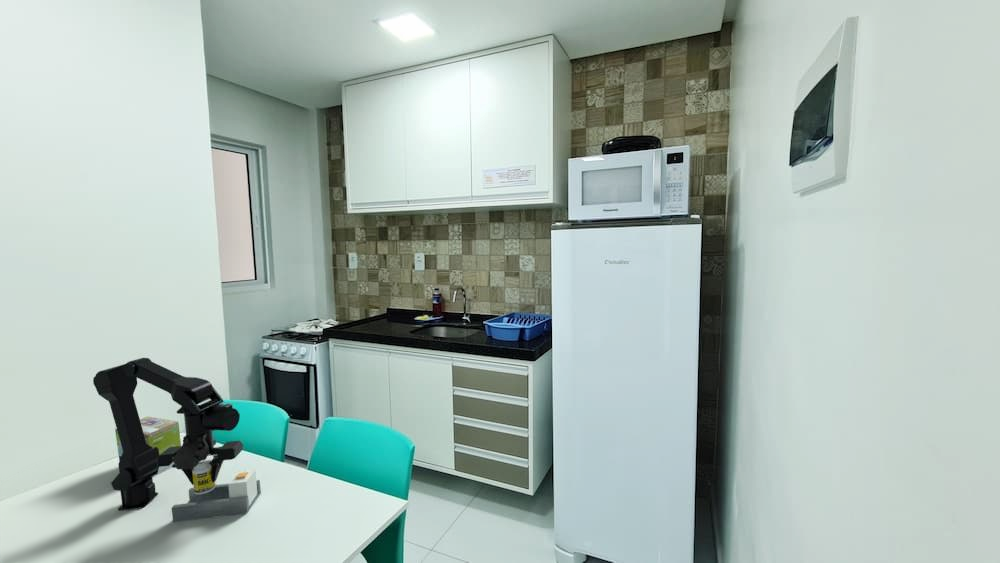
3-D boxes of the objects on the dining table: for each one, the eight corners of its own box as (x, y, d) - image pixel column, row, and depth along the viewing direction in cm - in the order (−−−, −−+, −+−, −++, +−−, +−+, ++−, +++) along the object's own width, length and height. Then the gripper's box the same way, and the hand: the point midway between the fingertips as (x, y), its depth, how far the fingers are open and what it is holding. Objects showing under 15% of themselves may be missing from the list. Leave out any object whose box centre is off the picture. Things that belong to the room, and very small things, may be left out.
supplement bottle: (197, 497, 109) (194, 467, 108) (191, 491, 112) (188, 461, 111) (218, 488, 113) (215, 459, 112) (212, 482, 116) (209, 454, 115)
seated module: (230, 508, 111) (227, 481, 110) (240, 494, 117) (238, 469, 116) (248, 505, 112) (246, 479, 111) (257, 492, 118) (255, 467, 117)
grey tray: (173, 522, 108) (171, 507, 107) (192, 501, 116) (191, 487, 116) (247, 512, 111) (246, 498, 110) (260, 492, 119) (259, 479, 119)
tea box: (118, 472, 133) (113, 428, 132) (152, 456, 143) (148, 415, 141) (151, 478, 129) (146, 433, 127) (184, 462, 138) (179, 419, 137)
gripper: (139, 446, 101) (145, 505, 103) (222, 438, 104) (227, 496, 106) (167, 426, 112) (173, 480, 114) (241, 420, 115) (246, 472, 117)
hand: (204, 482), depth 112 cm, fingers closed on supplement bottle, 5 cm apart
